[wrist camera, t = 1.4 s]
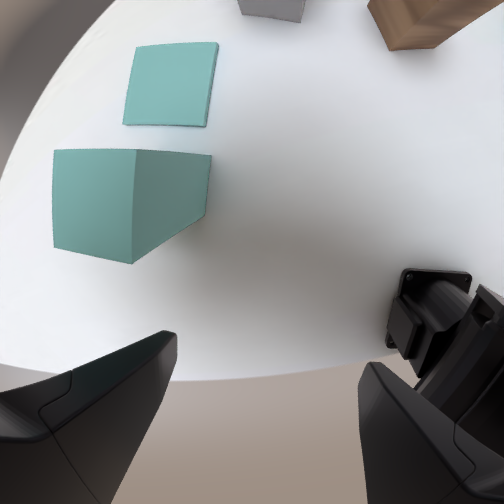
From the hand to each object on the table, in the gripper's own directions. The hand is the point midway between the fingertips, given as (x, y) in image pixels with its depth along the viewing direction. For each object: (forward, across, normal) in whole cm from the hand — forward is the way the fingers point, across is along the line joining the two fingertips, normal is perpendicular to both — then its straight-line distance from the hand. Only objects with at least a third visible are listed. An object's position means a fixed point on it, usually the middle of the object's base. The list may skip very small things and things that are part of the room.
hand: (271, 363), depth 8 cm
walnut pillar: (+12, -7, -18) cm, 22 cm away
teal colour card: (+12, +9, -10) cm, 18 cm away
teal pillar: (+12, +7, -3) cm, 14 cm away
